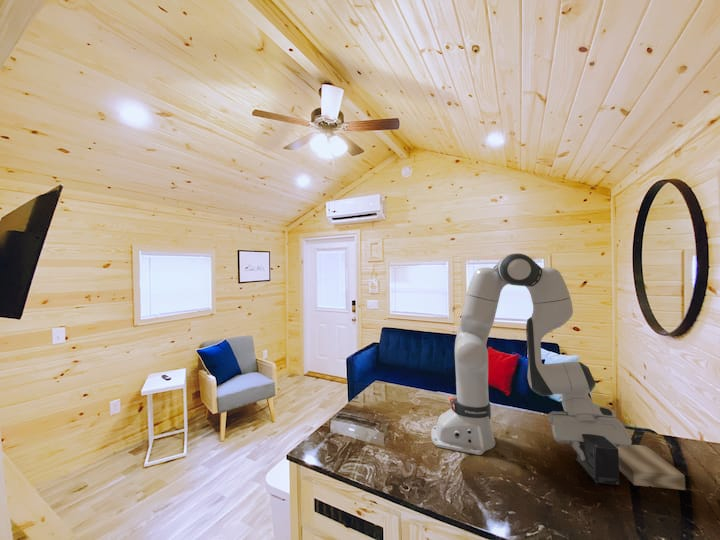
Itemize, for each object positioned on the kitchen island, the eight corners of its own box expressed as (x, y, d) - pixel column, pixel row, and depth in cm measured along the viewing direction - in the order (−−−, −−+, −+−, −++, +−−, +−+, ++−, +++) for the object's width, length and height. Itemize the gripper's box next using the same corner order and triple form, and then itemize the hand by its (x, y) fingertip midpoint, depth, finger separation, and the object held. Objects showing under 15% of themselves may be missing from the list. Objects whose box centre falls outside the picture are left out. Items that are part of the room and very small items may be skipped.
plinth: (634, 485, 83) (633, 470, 83) (604, 454, 96) (603, 442, 96) (685, 490, 80) (684, 475, 80) (646, 458, 94) (646, 445, 94)
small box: (622, 486, 82) (620, 448, 82) (595, 484, 83) (594, 447, 84) (599, 462, 93) (597, 429, 93) (576, 460, 94) (574, 427, 94)
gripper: (548, 407, 96) (563, 455, 86) (620, 411, 92) (645, 462, 82) (543, 414, 100) (557, 461, 91) (612, 418, 96) (634, 467, 86)
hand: (600, 461), depth 86 cm, fingers closed on small box, 6 cm apart
